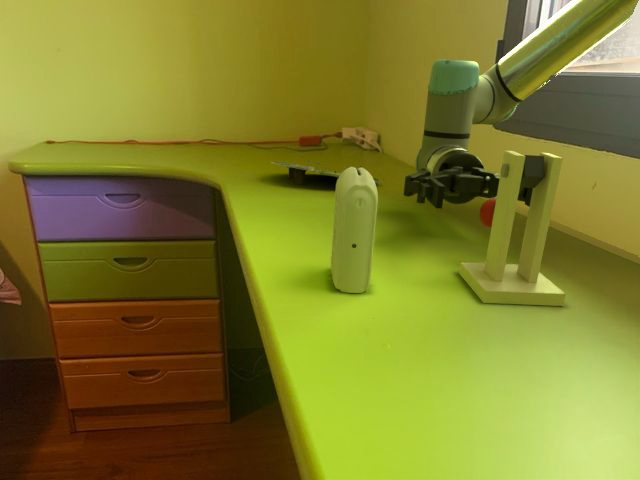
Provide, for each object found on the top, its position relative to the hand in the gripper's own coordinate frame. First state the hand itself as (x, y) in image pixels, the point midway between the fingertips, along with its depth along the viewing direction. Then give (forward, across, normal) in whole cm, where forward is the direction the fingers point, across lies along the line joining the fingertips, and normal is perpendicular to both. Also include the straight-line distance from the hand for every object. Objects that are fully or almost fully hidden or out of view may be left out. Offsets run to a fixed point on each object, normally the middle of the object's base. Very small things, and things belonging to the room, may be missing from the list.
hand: (493, 200), depth 87 cm
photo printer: (+11, +19, -8) cm, 23 cm away
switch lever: (+7, 0, 0) cm, 7 cm away
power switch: (+12, 0, -8) cm, 14 cm away
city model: (-62, +17, -8) cm, 65 cm away
